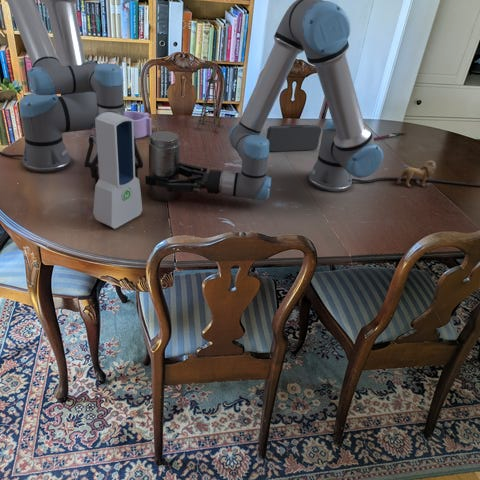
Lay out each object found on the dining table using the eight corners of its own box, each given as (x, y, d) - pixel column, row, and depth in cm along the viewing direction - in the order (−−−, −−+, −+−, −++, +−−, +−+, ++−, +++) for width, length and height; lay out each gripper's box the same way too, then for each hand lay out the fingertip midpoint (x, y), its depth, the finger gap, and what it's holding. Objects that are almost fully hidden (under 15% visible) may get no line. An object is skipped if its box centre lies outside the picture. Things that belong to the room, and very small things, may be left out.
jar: (145, 189, 151) (144, 131, 140) (173, 186, 154) (174, 129, 144) (153, 202, 144) (153, 142, 133) (182, 199, 148) (184, 140, 137)
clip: (101, 139, 182) (100, 121, 178) (98, 128, 192) (97, 111, 188) (152, 137, 188) (152, 120, 184) (147, 126, 198) (147, 110, 194)
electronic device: (112, 230, 128) (105, 125, 112) (93, 221, 131) (83, 117, 115) (143, 213, 137) (140, 113, 121) (124, 205, 140) (119, 106, 124)
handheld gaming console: (315, 147, 196) (319, 124, 190) (317, 149, 194) (322, 126, 188) (264, 149, 189) (267, 125, 183) (266, 152, 187) (269, 127, 181)
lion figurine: (423, 179, 178) (431, 157, 173) (433, 186, 174) (440, 163, 169) (391, 182, 173) (398, 160, 168) (400, 189, 169) (407, 166, 164)
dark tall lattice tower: (215, 132, 200) (220, 59, 184) (196, 129, 201) (199, 56, 185) (220, 125, 207) (225, 54, 191) (202, 122, 208) (205, 52, 192)
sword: (401, 132, 223) (402, 129, 222) (407, 134, 221) (407, 131, 220) (358, 143, 207) (358, 140, 206) (363, 145, 205) (364, 143, 204)
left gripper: (69, 122, 133) (76, 192, 145) (150, 125, 137) (151, 192, 149) (72, 114, 139) (79, 181, 151) (150, 116, 143) (151, 182, 155)
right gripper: (214, 210, 138) (140, 200, 139) (224, 178, 156) (159, 170, 157) (216, 187, 133) (139, 177, 134) (226, 157, 152) (158, 149, 153)
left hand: (115, 186), depth 150 cm, fingers closed on lid, 10 cm apart
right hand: (150, 173), depth 146 cm, fingers closed on jar, 9 cm apart
